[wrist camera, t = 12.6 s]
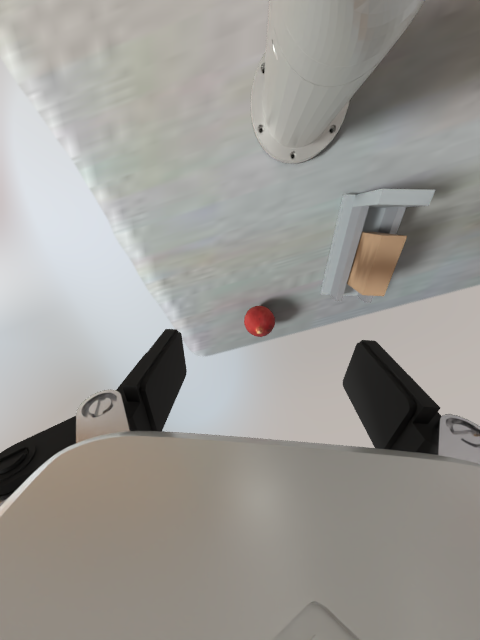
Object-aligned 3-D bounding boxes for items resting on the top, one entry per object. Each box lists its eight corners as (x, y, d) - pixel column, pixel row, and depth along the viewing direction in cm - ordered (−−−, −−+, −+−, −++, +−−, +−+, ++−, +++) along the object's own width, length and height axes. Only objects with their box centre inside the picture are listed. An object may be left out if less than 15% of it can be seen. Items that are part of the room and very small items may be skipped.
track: (342, 195, 30) (369, 188, 23) (402, 196, 30) (448, 190, 23) (320, 292, 38) (335, 310, 31) (368, 294, 37) (394, 313, 30)
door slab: (353, 231, 32) (382, 235, 24) (373, 231, 31) (407, 236, 24) (341, 279, 35) (362, 295, 28) (358, 280, 35) (384, 296, 28)
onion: (278, 306, 40) (283, 326, 33) (265, 328, 42) (267, 350, 35) (252, 295, 39) (251, 312, 32) (241, 318, 42) (238, 339, 35)
